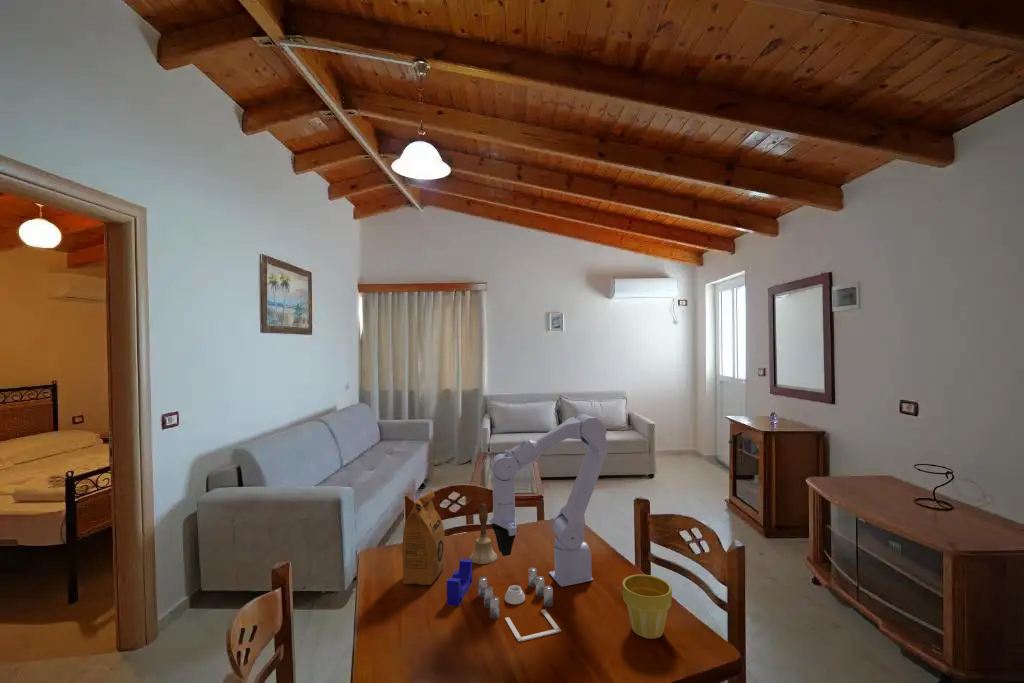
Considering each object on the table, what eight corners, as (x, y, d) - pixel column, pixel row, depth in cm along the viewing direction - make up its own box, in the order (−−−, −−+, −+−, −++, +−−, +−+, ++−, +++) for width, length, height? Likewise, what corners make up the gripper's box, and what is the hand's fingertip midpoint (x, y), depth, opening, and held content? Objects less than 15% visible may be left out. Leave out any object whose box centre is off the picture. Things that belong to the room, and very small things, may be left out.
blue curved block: (456, 580, 127) (455, 558, 127) (472, 582, 126) (472, 559, 126) (441, 604, 115) (440, 580, 115) (458, 606, 114) (458, 581, 114)
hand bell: (481, 549, 145) (480, 498, 145) (503, 556, 140) (502, 502, 141) (463, 559, 139) (462, 505, 139) (485, 567, 134) (484, 511, 134)
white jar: (525, 594, 119) (505, 595, 119) (524, 583, 119) (505, 583, 119) (525, 605, 114) (504, 605, 114) (524, 593, 114) (504, 593, 114)
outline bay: (544, 610, 111) (544, 609, 111) (561, 631, 103) (561, 630, 103) (504, 619, 108) (504, 617, 108) (518, 642, 99) (518, 640, 99)
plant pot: (652, 612, 110) (651, 570, 110) (683, 637, 100) (681, 591, 100) (614, 622, 106) (613, 578, 106) (642, 649, 96) (640, 601, 97)
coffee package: (451, 568, 133) (449, 490, 134) (431, 590, 121) (430, 505, 122) (419, 564, 136) (418, 488, 136) (397, 585, 124) (396, 502, 124)
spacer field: (535, 582, 125) (535, 567, 125) (554, 605, 113) (554, 589, 113) (477, 593, 119) (477, 577, 119) (491, 619, 108) (491, 602, 108)
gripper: (481, 494, 129) (482, 544, 129) (497, 512, 115) (498, 567, 115) (506, 491, 131) (506, 540, 131) (524, 508, 118) (525, 562, 118)
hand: (504, 553), depth 123 cm, fingers closed
